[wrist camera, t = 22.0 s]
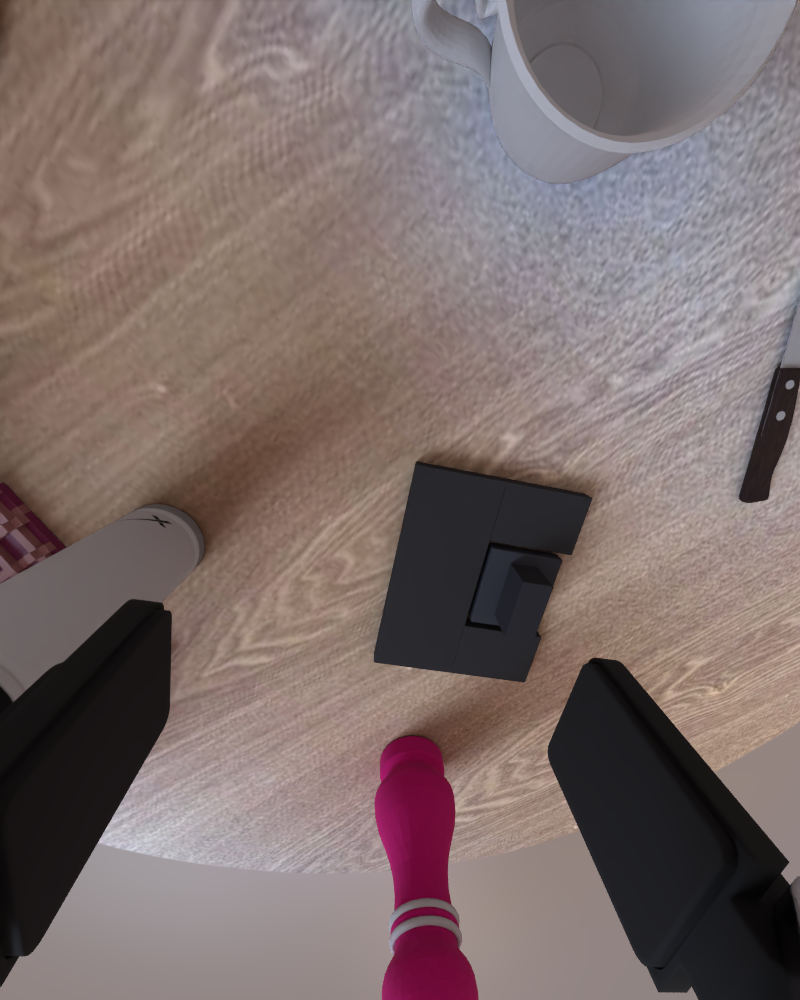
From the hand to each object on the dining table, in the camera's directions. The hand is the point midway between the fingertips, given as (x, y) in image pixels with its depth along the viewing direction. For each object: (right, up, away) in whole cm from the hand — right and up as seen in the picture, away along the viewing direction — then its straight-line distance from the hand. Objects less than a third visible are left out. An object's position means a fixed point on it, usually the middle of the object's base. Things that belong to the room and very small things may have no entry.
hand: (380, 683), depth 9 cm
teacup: (+8, +27, +15) cm, 32 cm away
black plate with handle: (+10, -3, +25) cm, 27 cm away
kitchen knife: (+30, +13, +20) cm, 39 cm away
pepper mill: (+2, -22, +31) cm, 38 cm away
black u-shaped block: (+7, -3, +24) cm, 25 cm away
